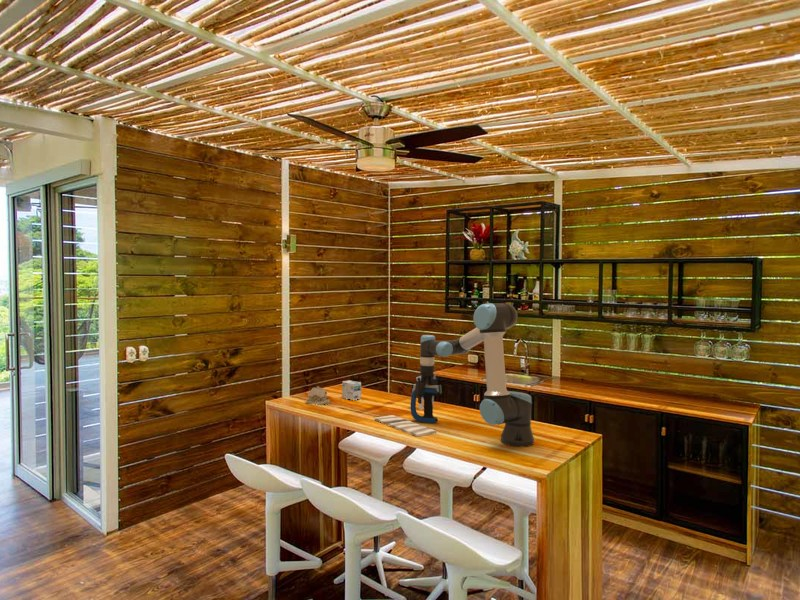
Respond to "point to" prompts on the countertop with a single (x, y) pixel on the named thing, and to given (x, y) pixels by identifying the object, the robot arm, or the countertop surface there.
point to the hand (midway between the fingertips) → (426, 408)
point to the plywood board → (405, 425)
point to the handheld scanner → (425, 403)
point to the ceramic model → (318, 396)
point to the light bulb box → (351, 390)
